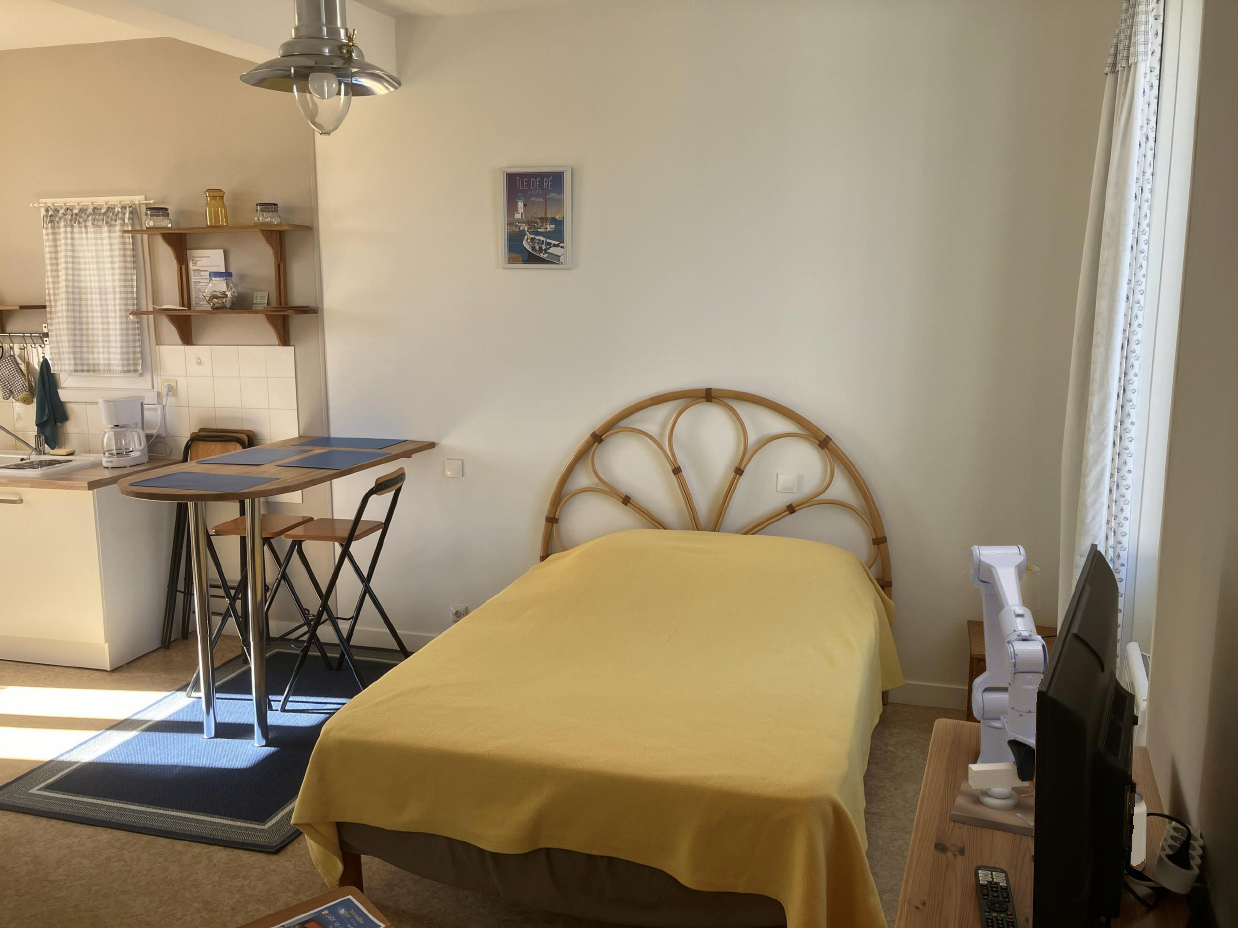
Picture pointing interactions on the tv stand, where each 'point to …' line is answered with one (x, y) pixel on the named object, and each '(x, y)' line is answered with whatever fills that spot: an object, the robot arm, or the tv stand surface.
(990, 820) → the base
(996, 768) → the lock handle
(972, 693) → the robot arm
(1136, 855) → the can
